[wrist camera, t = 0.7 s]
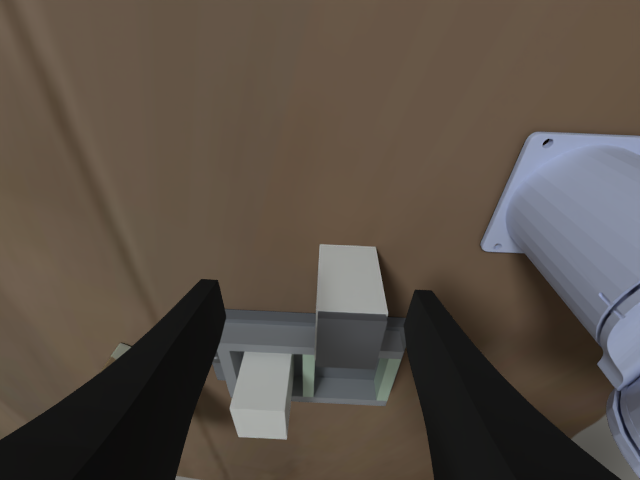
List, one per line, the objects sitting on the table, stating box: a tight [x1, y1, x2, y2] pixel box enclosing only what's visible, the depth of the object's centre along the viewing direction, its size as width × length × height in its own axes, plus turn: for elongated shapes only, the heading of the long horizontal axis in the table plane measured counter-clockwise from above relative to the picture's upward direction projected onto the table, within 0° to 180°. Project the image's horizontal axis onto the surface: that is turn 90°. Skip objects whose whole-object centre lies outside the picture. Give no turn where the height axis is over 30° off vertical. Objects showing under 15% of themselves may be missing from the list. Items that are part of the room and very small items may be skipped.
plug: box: [314, 244, 388, 370], centre depth 20 cm, size 4×5×6 cm
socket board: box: [212, 309, 406, 439], centre depth 26 cm, size 18×10×7 cm, turn 88°
